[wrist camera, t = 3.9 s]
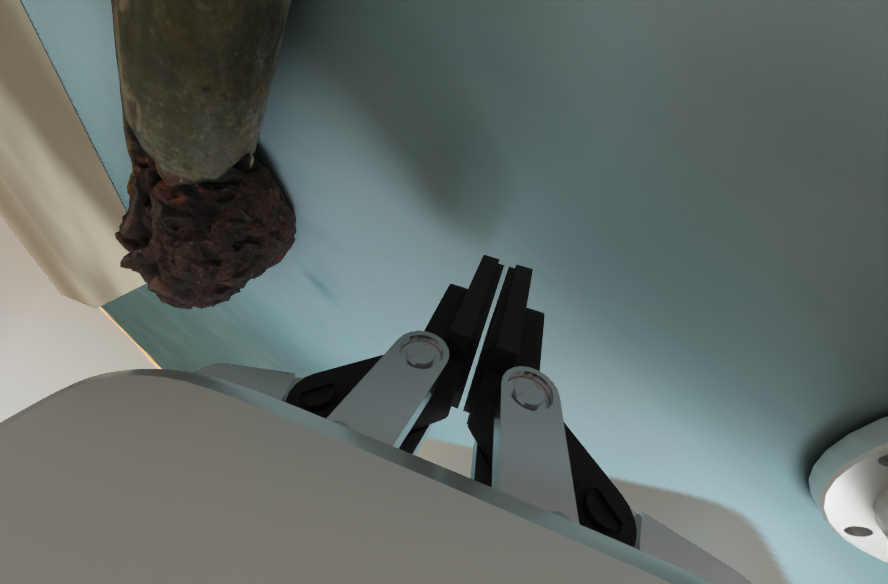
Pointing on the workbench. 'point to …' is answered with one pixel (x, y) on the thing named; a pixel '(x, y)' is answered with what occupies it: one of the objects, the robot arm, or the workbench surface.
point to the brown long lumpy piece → (199, 145)
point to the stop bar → (55, 174)
